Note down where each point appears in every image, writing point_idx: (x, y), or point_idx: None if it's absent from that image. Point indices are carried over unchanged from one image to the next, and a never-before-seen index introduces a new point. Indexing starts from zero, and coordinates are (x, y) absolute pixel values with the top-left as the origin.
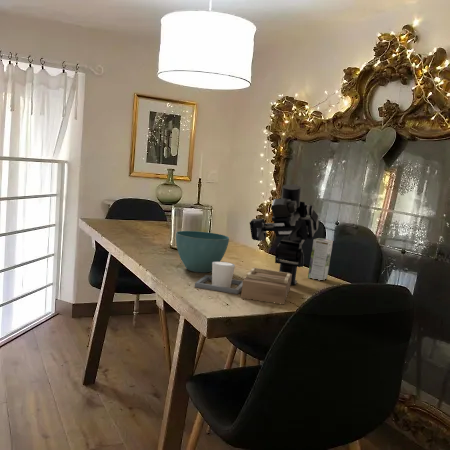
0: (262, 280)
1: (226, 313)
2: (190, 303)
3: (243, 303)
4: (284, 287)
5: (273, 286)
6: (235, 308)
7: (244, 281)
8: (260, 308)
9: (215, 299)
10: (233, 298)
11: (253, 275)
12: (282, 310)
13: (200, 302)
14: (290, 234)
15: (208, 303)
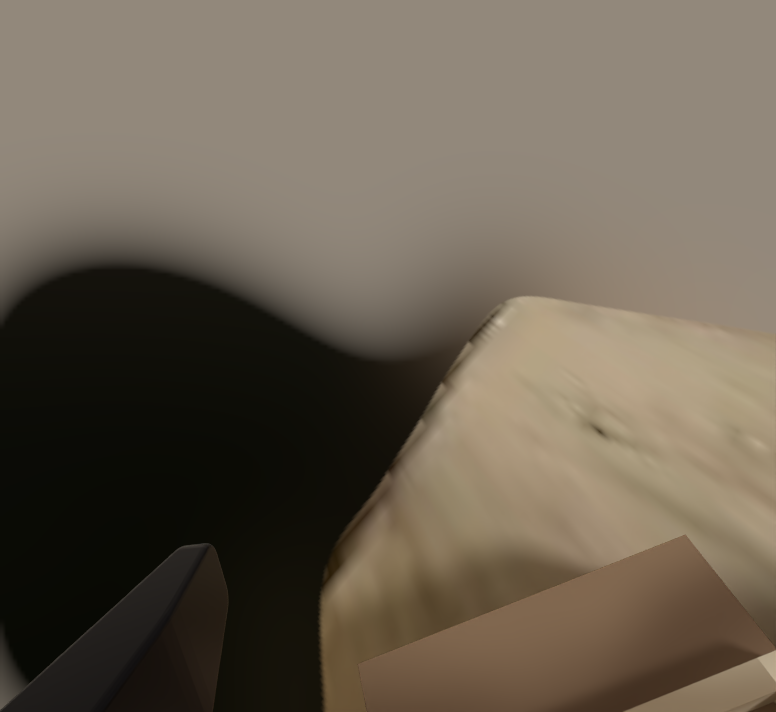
0: (613, 706)
1: (507, 351)
2: (685, 322)
3: (568, 509)
4: (370, 661)
5: (453, 630)
6: (531, 416)
7: (673, 544)
8: (458, 512)
9: (703, 441)
10: None
11: (717, 675)
12: (360, 583)
13: (682, 357)
14: (150, 608)
15: (652, 374)
